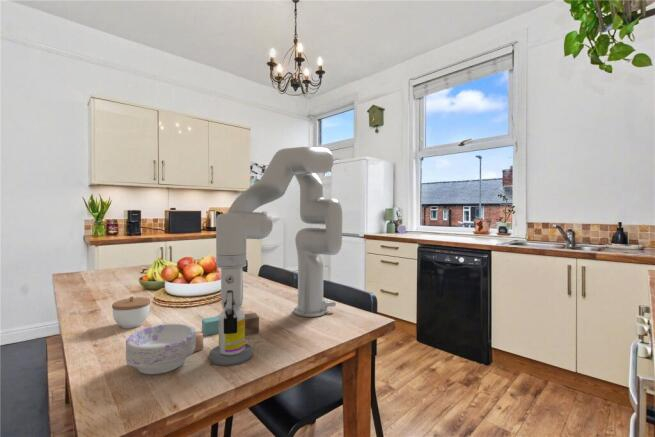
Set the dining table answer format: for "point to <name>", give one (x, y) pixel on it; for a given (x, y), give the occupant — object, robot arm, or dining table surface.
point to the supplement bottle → (235, 341)
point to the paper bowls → (160, 347)
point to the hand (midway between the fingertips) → (231, 326)
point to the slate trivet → (230, 356)
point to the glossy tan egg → (198, 341)
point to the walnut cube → (251, 323)
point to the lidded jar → (131, 311)
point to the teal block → (210, 325)
